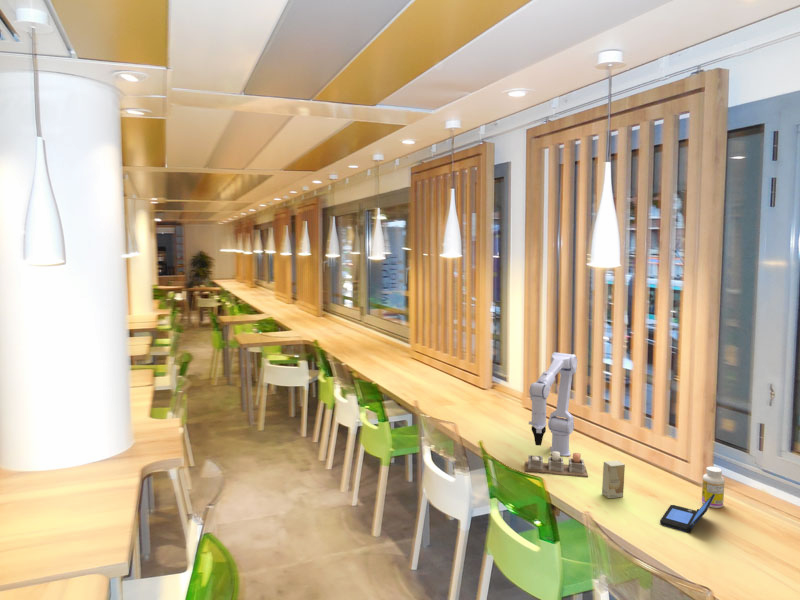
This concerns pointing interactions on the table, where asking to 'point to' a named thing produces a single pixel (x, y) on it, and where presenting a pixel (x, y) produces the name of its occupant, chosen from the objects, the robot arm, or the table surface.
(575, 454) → the terracotta plug
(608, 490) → the skincare box
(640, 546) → the table surface
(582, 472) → the board
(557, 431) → the robot arm
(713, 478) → the supplement bottle
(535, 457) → the plug
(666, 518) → the handheld game console
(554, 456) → the plug
